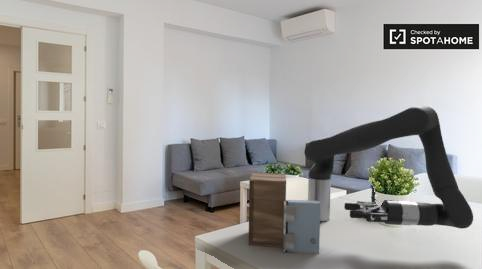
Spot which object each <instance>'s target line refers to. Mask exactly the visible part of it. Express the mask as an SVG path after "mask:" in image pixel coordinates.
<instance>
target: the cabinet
mask: <svg viewBox="0 0 482 269" xmlns="http://www.w3.org/2000/svg"><path fill="white" fill-rule="evenodd" d="M248 181H249V184H248V185H249V188H248V190H249V192H248V193H249V195H248V199H249V200H248V246H254V247H256V246H257V247H270V248H271V247H273V248H274V247H275V248H276V247H277V248H282V251H283V252H286V251H287V250H294V234H287V222H294V209H295V206H288V200H289V199H287V198H286V197H287V178H286V173H268V172H266V173H265V172H252V173H251V175H250V178H249V180H248Z"/></svg>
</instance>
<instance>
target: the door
mask: <svg viewBox="0 0 482 269" xmlns="http://www.w3.org/2000/svg"><path fill="white" fill-rule="evenodd" d="M287 200H288V206H295V209H294V222H287V234H294V250H286V252H289V253H306V254H307V253H308V254H320V236H321V234H320V233H321V230H320V229H321V221H320V202H319V201H308V200H304V199H303V200H301V199H287Z"/></svg>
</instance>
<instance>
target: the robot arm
mask: <svg viewBox="0 0 482 269" xmlns="http://www.w3.org/2000/svg"><path fill="white" fill-rule="evenodd" d="M442 135H443V134H442V131H441V124H440V119H439V115H438V113H437V112H436V110H435V109H434V108H433V107H431V106H428V105H418V106H417V105H416V106H411V107H408V108H407V109H404V110H402V111H401V112H398V113H396V114H394V115H392V116H388V117H387V118H383V119H381V120H376V121H375V120H374V121H371V122H367V123H363V124H360V125H358V126H355V127H352V128H349V129H346V130H344V131H342V132H339V133H337V134H335V135H332V136H330V137H326V138H322V139H317V140H312V141H310V142H308V143H307V145H305V147H304V157H305V158H306V159H307V160H308V161H309V162H312V163H314V166H313V167H312V168H311V169H310V170H309V171H308V184H307V185H308V186H307V188H308V189H307V201H319V202H320V222H326V221H329V220H330V216H331V192H332V190H331V188H332V187H331V186H332V185H331V183H332V181H331V180H332V174H333V171H334V164H335V162H334V161H335V156H336V155H342V154H343V155H344V154H352V153H359V152H362V151H363V152H364V151H366V150H371V149H374V148H375V147H378V146H380V145H383V144H385V143H387V142H389V141H391V140H395V139H399V138H404V137H411V136H418V137H419V139H420V141H421V144H422V147H423V150H424V158H425V169H426V174H427V178H428V181H429V184H430V186H431V188H432V189H431V190H432V191H433V194H434V195H435V197H437V198H438V199H439V200H440V201H441V203H429V202H420V201H419V202H418V201H415V202H413V201H408V200H384V201H382V202H383V203H382V205H381V206H378V205H377V204H376V203H375V202H376V201H375V202H371V201H359V200H358V201H357V202H356V203H353V202H345V203H344V210H345V211H349V217H350V218H351V219H363V220H365V221H366V222H368V223H384V224H385V225H392V226H393V225H394V226H425V227H427V226H429V227H431V226H434V225H435V226H445V227H446V226H447V227H452V228H457V229H467V228H469V227H471V226H472V225H473V221H474V213H473V210H472V208H471V206H470V204H469V202H468V201H467V199H466V198H465V196H464V194H463V193H462V191H461V190H460V188H459V186H458V184H457V179H456V177H455V175H454V171H453V170H452V167H451V164H450V162H449V158H448V155H447V151H446V147H445V144H444V139H443V136H442Z"/></svg>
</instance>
